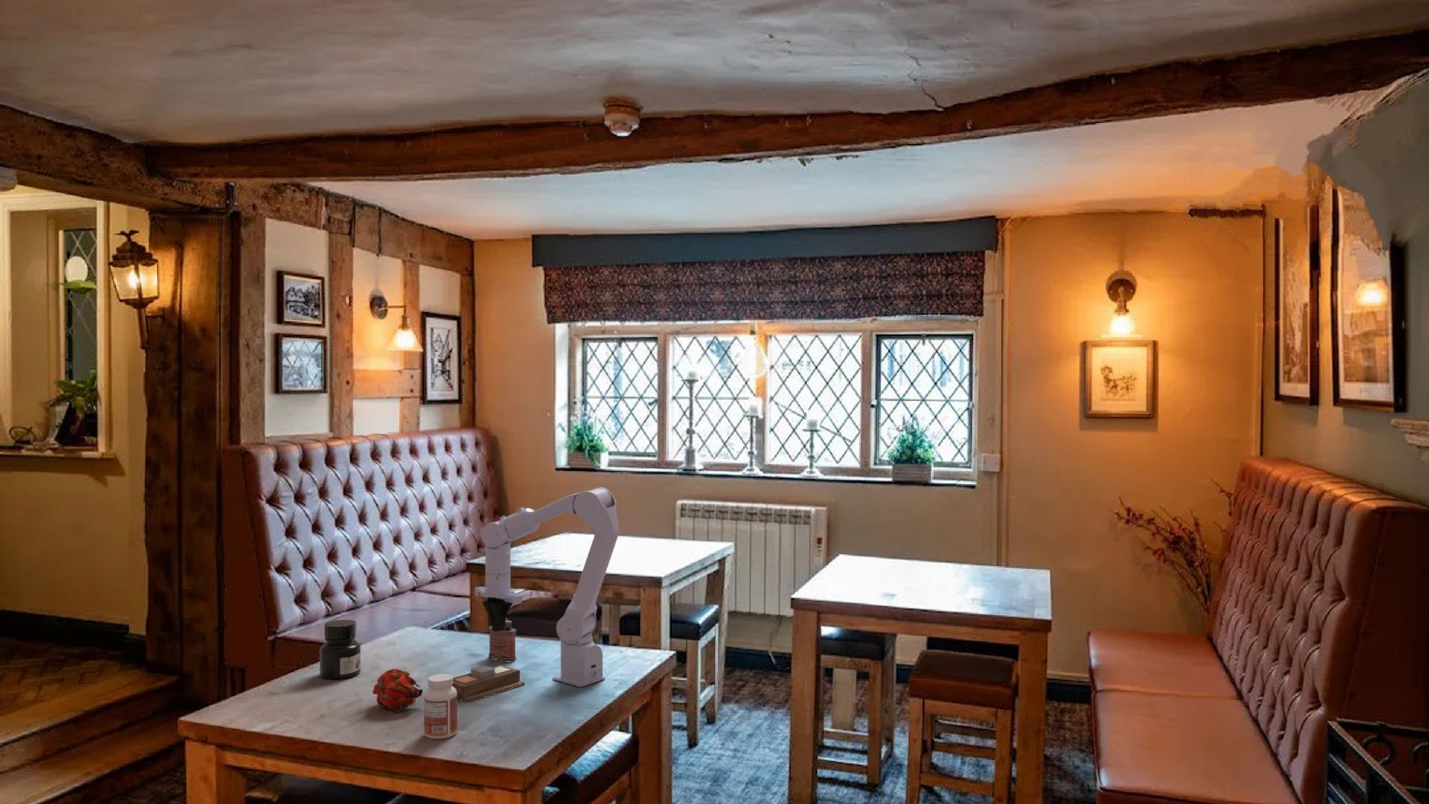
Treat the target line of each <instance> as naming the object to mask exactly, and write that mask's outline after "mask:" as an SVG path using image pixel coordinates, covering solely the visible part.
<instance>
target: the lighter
mask: <svg viewBox="0 0 1429 804" xmlns="http://www.w3.org/2000/svg"><path fill="white" fill-rule="evenodd" d="M512 623H513V622H512V620H509V619H508V618H507V617H506V620H505V624H504V628H503V630H501V631H497V632H496V631H493V629H492V626H489V627H488V631H489V653H488V658H489V659H490V658H493V659H497V660H500V661H499V662H503V661H514V662H516V661H517V656H516V634H517V629H516V628H512V626H513V625H512ZM493 659H492V660H493ZM497 660H496V661H497ZM515 660H516V661H515Z"/></svg>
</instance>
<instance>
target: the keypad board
mask: <svg viewBox="0 0 1429 804" xmlns="http://www.w3.org/2000/svg"><path fill="white" fill-rule="evenodd" d="M489 667H490V666H489ZM497 667H503V668H507V669H510V672H506V673H503V674H500V675H496V676H493V677H489V678H486V679H483V680H479V681H476V682H473V683H469V684H466V685H465V684H461V683H458V682H455V681H454V680H455V679H458V678H462V677H465V676H470V677H471V672H470V673H466V674H463V675H459V676H456V677H453V685H452V686H453V687H454V688H455V689H456V691H457V700H461V699H462V701H464V700H465V701H464V702H467V703H471V702H474V701H477V700H476V699H478V700H480V698H481V699H484V698H486V697H485V696H487V697H489V696H493V695H492V694H494V693H497V694H499V692H500V693H502V692H501V691H503V690H506V691H509V690H508V689H510V688H512V687H516V686H519V685H521V684H525V682H524V681H523V680H520V679H521V676H520V675H521V670H520V669H517V668H513V667H509V666H507V665H502V664H498V665H495V666H491V667H490V668H497ZM519 687H520V686H519ZM516 688H517V687H516ZM510 690H511V689H510ZM503 692H504V691H503ZM494 695H495V694H494ZM473 700H474V701H473Z"/></svg>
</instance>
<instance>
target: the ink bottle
mask: <svg viewBox="0 0 1429 804" xmlns="http://www.w3.org/2000/svg"><path fill="white" fill-rule="evenodd" d="M356 636H357V622H356V620H353V619H336V620H331V621H326V622H325V623H324V641H325V642H324V644H322V646H320V647H319V676H320V677H321V678H323V679H327V680H342V679H350V678H352V677H355V676H357V675H359V674H360V672H361V671H362V667H361V665H362V664H361V663H362V660H361V659H362V656H361V655H362V654H361V653H362V652H361V648H362V647H361V644H360V643H359V642H358V641H357V640H356Z"/></svg>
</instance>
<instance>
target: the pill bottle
mask: <svg viewBox="0 0 1429 804" xmlns="http://www.w3.org/2000/svg"><path fill="white" fill-rule="evenodd" d="M453 678H454V676H453V675H452V674H449V673H441V674H440V673H439V674H434V675H430V676H429V677H428V679H427V686H428V687H429V688H427V689H426V690H425V692H424V694H423V704H424V705H423V707H424V708H423V712H424V713H423V716H424V717H423V718H424V719H423V720H424V721H423V723H424V724H423V726H424V728H423V729H424V730H423V732H424V735H425V737H426V738H428V739H432V740H443V739H444V740H445V739H448V738H451V737H453V736H454V735H456V734H457V732H458V698H457V691H456V689H455V688H454V687H453V686H452V685H453Z"/></svg>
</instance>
